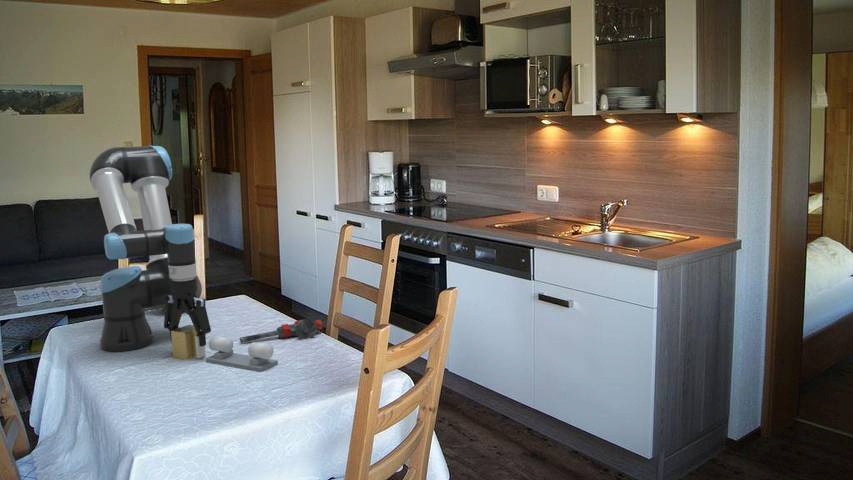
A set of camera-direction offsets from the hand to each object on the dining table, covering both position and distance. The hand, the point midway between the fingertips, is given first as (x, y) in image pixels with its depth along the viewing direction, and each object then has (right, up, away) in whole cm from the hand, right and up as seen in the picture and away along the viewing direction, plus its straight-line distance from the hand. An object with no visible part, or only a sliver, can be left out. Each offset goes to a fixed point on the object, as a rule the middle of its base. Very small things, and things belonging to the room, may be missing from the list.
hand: (189, 354), depth 214 cm
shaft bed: (+17, -1, -8) cm, 19 cm away
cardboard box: (0, 0, 0) cm, 0 cm away
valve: (+23, +3, +18) cm, 29 cm away
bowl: (-21, +8, +53) cm, 58 cm away
